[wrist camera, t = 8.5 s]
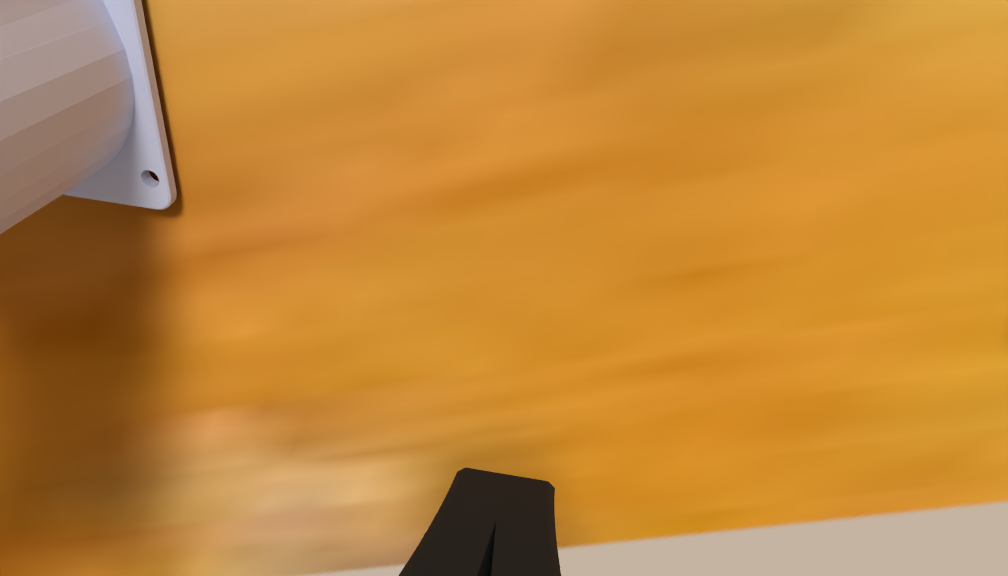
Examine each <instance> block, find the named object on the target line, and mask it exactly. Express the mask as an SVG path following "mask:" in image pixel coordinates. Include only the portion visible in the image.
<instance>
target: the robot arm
mask: <svg viewBox="0 0 1008 576" xmlns="http://www.w3.org/2000/svg"><path fill="white" fill-rule="evenodd" d="M149 170H150V171H152V172H154V173H155V174H156V175H157V176H158V179H159V181H156V180H155V179H153V178H152V177H151V175H150V173H149ZM61 195H67V196H73V197H80V198H86V199H92V200H99V201H105V202H112V203H118V204H124V205H131V206H137V207H143V208H150V209H156V210H164V209H166V208H167V207H169V206H170V205H171V204H173V203H174V201H175V200H176V198H177V191H176V186H175V181H174V175H173V170H172V164H171V159H170V154H169V148H168V143H167V137H166V132H165V126H164V121H163V116H162V110H161V105H160V99H159V94H158V88H157V83H156V78H155V72H154V67H153V61H152V56H151V50H150V45H149V40H148V34H147V29H146V23H145V18H144V13H143V7H142V2H141V0H0V234H1V233H3V232H5V231H6V230H8V229H9V228H11V227H12V226H14V225H16V224H17V223H19V222H20V221H22V220H23V219H25V218H27V217H28V216H30V215H31V214H33V213H34V212H36V211H37V210H39V209H41V208H42V207H44V206H45V205H47V204H48V203H50V202H52V201H53V200H55V199H56V198H58V197H59V196H61ZM554 493H555V488H554V487H553V486H552V485H551V484H550V483H549V482H548V481H542V480H536V479H530V478H524V477H518V476H512V475H506V474H500V473H494V472H488V471H482V470H476V469H470V468H464V469H462V470H460V471H458V472H457V474H456V476H455V478H454V480H453V483H452V485H451V487H450V489H449V491H448V493H447V495H446V497H445V499H444V501H443V503H442V505H441V507H440V509H439V511H438V513H437V514H436V516H435V518H434V520H433V521H432V523H431V525H430V527H429V528H428V530H427V532H426V533H425V535H424V537H423V538H422V540H421V542H420V543H419V545H418V547H417V548H416V550H415V551H414V553H413V555H412V556H411V558H410V559H409V561H408V562H407V564H406V565H405V567H404V568H403V570H402V571H401V573H400V574H399V576H561V573H560V565H559V558H558V550H557V542H556V532H555V516H554Z"/></svg>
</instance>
